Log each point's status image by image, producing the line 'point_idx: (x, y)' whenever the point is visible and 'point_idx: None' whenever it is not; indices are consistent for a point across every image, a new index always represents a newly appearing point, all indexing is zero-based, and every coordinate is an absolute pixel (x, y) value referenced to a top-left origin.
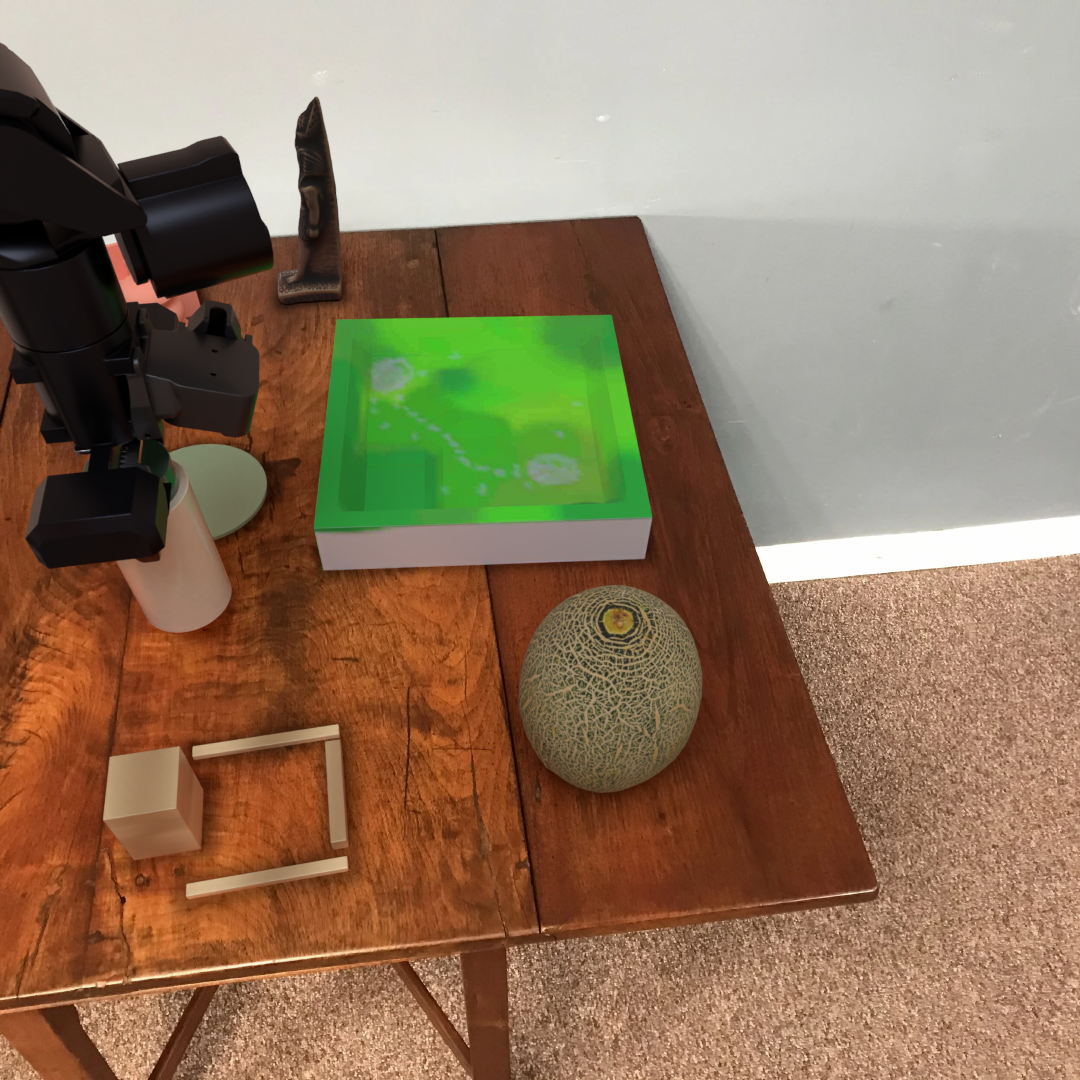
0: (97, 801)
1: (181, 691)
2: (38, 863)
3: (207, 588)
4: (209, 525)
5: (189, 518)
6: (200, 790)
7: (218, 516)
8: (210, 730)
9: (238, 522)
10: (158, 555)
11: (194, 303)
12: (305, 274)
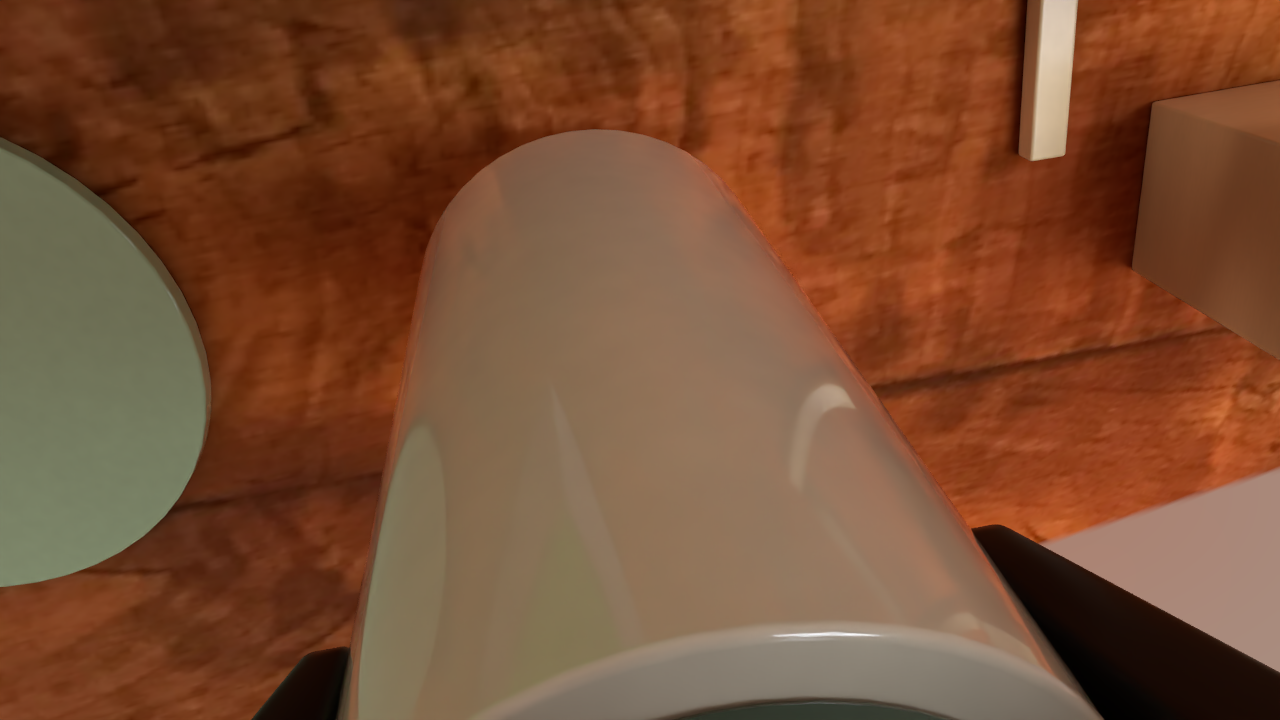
0: (1100, 366)
1: (806, 237)
2: (1214, 442)
3: (741, 224)
4: (96, 298)
5: (835, 468)
6: (1198, 106)
7: (39, 275)
8: (957, 121)
9: (51, 192)
10: (1057, 555)
11: None
12: None
